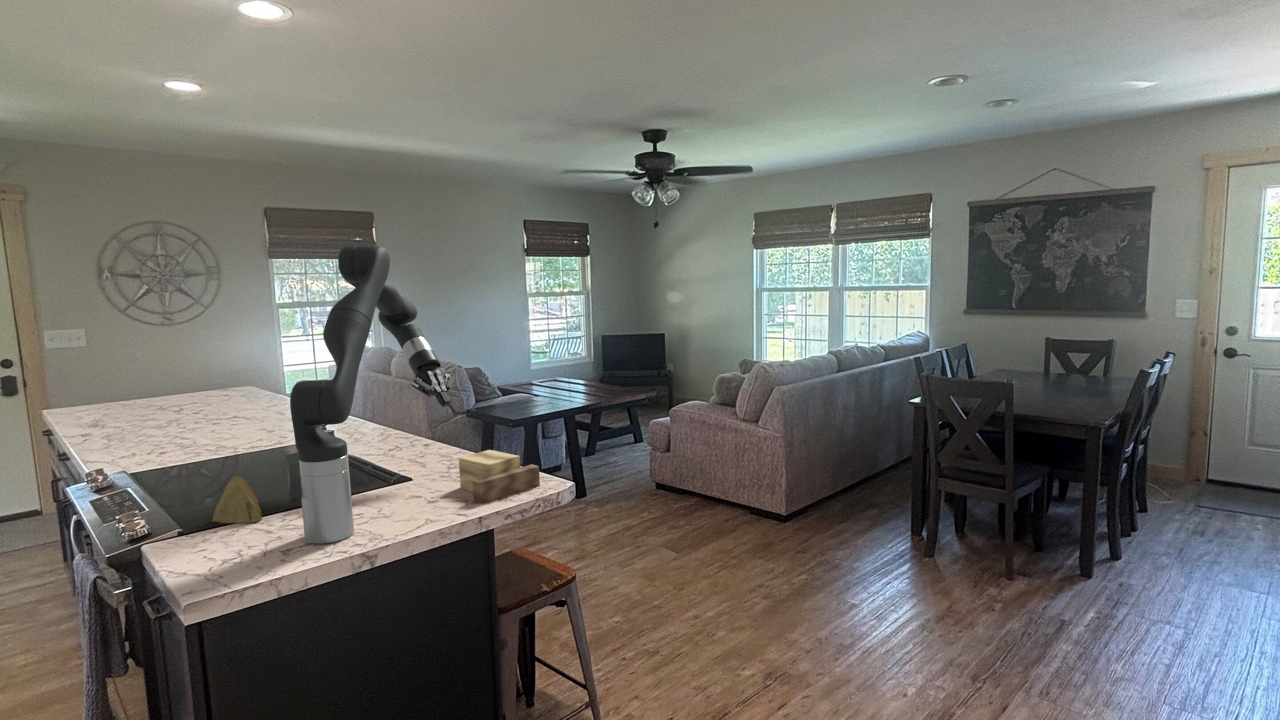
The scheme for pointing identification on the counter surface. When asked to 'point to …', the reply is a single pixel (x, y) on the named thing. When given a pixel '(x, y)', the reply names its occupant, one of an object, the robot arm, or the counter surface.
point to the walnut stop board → (505, 483)
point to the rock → (237, 504)
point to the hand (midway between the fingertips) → (446, 404)
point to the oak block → (485, 466)
